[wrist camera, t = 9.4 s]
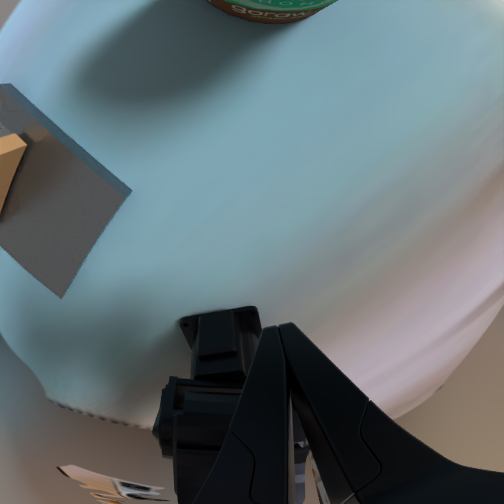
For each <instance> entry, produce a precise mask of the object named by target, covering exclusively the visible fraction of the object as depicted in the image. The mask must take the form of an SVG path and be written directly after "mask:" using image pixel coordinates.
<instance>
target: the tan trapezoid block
mask: <svg viewBox="0 0 504 504" xmlns="http://www.w3.org/2000/svg"><path fill="white" fill-rule="evenodd" d="M26 146H27V144H26V143H25V142H24V141H23V140H22V139H21V138H20V137H19V136H18V135H17V134H15V133H14V134H11V135H7V136H4V137H1V138H0V213H1V210H2V207H3V204H4V201H5V198H6V195H7V192H8V189H9V187H10V184H11V181H12V179H13V176H14V174H15V171H16V169H17V166H18V164H19V162H20V159H21V157H22V155H23V153H24V151H25V148H26Z"/></svg>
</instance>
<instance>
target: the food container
mask: <svg viewBox="0 0 504 504" xmlns="http://www.w3.org/2000/svg"><path fill="white" fill-rule="evenodd" d="M336 1H338V0H207V2H208V3H209V4H211V5H213V6H214V7H216V8H218V9H220V10H221V11H223V12H224V13H226V14H228V15H230V16H234V17H237V18H240V19H244V20H247V21H250V22H257V23H267V24H283V23H289V22H295V21H298V20H302V19H305V18H307V17H309V16H311V15H314V14H315V13H317V12H319V11H320V10H322V9H324V8H325V7H327V6H329V5H331V4H332V3H334V2H336Z"/></svg>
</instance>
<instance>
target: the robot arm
mask: <svg viewBox="0 0 504 504" xmlns="http://www.w3.org/2000/svg"><path fill="white" fill-rule="evenodd" d="M250 312H254V313H250ZM185 323H188V324H185ZM180 327H181V329H182V331H183V333H184V335H185V337H186V340H187V342H188V344H189V346H190V348H191V350H192V360H191V375H190V379H182V378H178V377H174V376H170V378H169V383H168V385H166V387H165V388H164V389H162V395H161V403H160V408H159V411H158V414H157V417H156V420H155V423H154V426H153V431H152V433H153V436H154V437H155V438H156V440H157V441H158V442H159V443H160V448H161V449H162V455H163V459H165V460H173V470H174V490H175V493H176V495H177V496H178V504H303V502H304V500H305V478H304V477H305V476H304V475H305V462H306V457H307V456H308V454H309V452H310V450H311V453H312V455H313V458H314V461H315V464H316V466H317V469H318V472H319V474H320V477H321V480H322V483H323V485H324V488H325V491H326V493H327V496H328V499H329V502H330V504H504V473H503V472H496V471H489V470H483V469H477V468H472V467H467V466H463V465H459V464H457V463H454V462H452V461H451V460H449V459H447V458H445V457H444V456H442V455H441V454H439V453H438V452H436V451H435V450H433V449H432V448H430V447H429V446H427V445H425V444H424V443H423V442H421V441H420V440H419V439H417V438H416V437H414V436H413V435H411V434H410V433H409V432H407V431H406V430H405V429H403V428H402V427H401V426H399V425H398V424H397V423H395V422H394V421H393V420H392V419H391V418H390V417H389V416H387V415H386V414H385V413H384V412H383V411H382V410H381V409H380V408H379V407H378V406H377V405H376V404H375V403H373V402H372V401H371V400H370V401H369V398H368V397H367V396H366V395H365V394H364V393H363V392H362V391H361V390H360V389H359V388H358V387H357V386H356V385H355V384H354V383H353V382H352V381H351V380H350V379H349V378H348V377H347V376H346V375H345V374H344V373H343V372H342V371H341V370H340V369H339V368H338V367H337V366H336V365H335V364H334V363H333V362H332V361H331V360H330V359H329V358H328V357H327V356H326V355H325V354H324V353H323V352H322V351H321V350H320V349H319V348H318V347H317V346H316V345H315V344H314V343H313V342H312V341H311V340H310V339H309V338H308V337H307V336H306V335H305V334H304V333H303V332H302V331H301V330H300V329H299V328H298V327H297V326H296V325H295V324H294V323H292V322H289V323H284V324H280V325H279V326H276V325H274V326H269V327H265V328H263V329H262V327H261V323H260V318H259V313H258V309H257V308H256V307H255V306H249V307H243V308H238V309H232V310H227V311H221V312H215V313H209V314H203V315H196V316H190V317H184V318H182V319H181V320H180Z"/></svg>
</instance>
